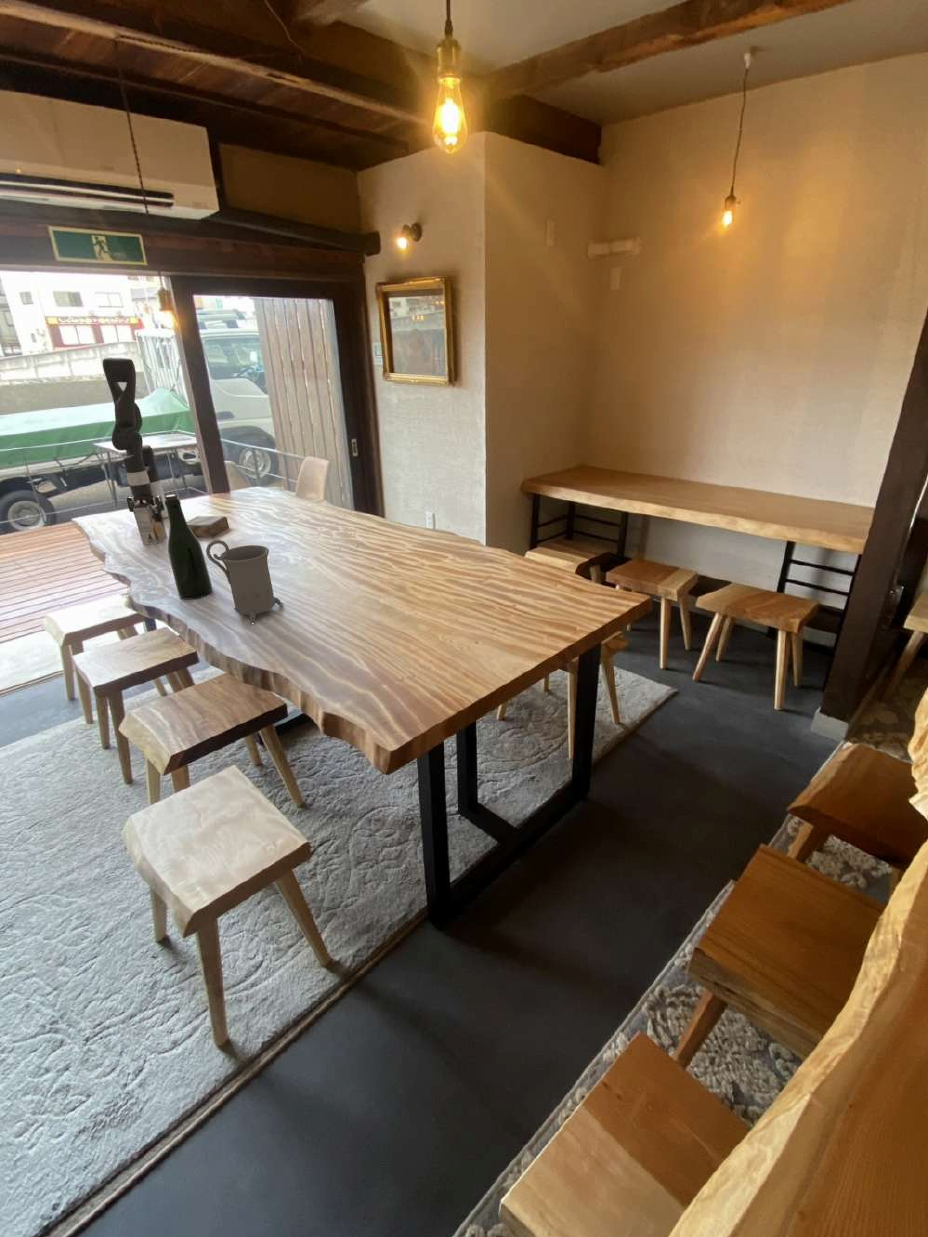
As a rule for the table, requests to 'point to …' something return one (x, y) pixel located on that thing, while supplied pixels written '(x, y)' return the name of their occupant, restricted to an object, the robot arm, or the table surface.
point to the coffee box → (148, 524)
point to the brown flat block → (208, 526)
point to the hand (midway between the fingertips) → (150, 521)
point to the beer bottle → (185, 554)
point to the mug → (247, 577)
